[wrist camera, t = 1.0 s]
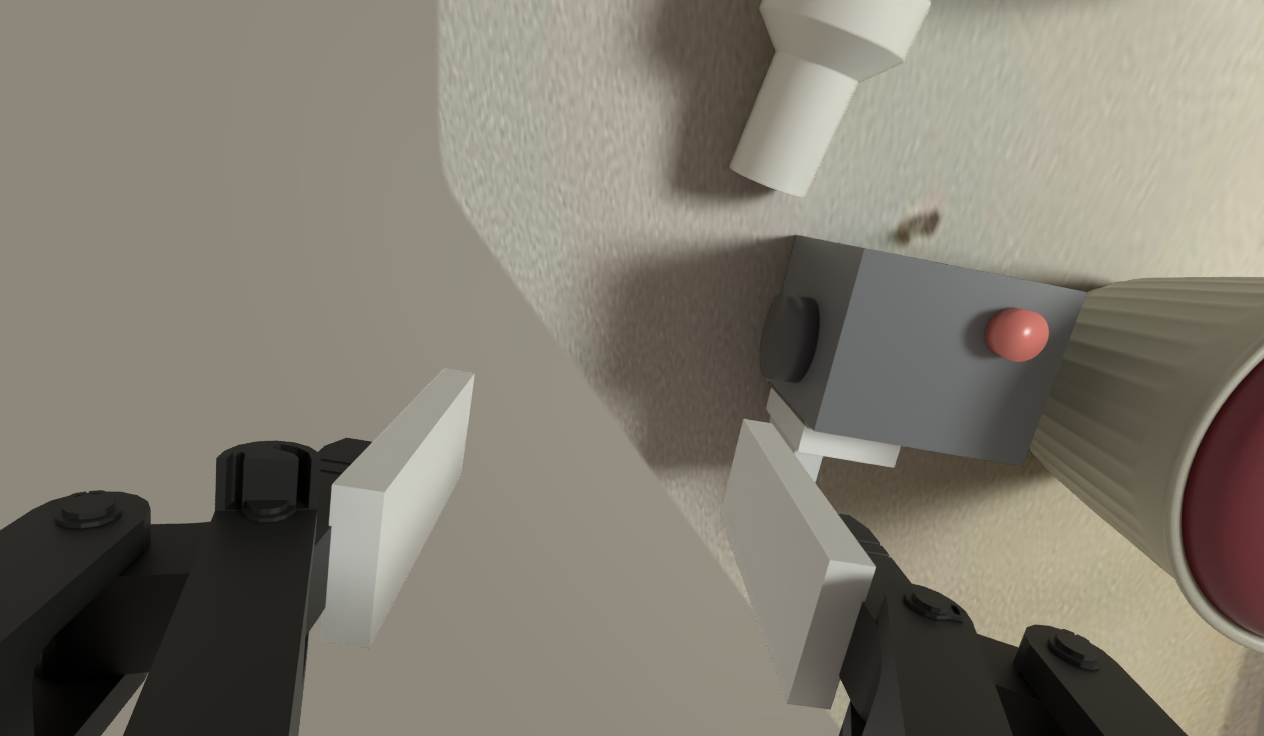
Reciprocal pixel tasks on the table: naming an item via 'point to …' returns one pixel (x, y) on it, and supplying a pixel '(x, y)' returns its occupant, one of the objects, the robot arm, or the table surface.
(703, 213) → the table surface
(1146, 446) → the canister
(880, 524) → the table surface
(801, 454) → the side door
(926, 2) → the spotlight
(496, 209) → the table surface
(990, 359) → the camera case
